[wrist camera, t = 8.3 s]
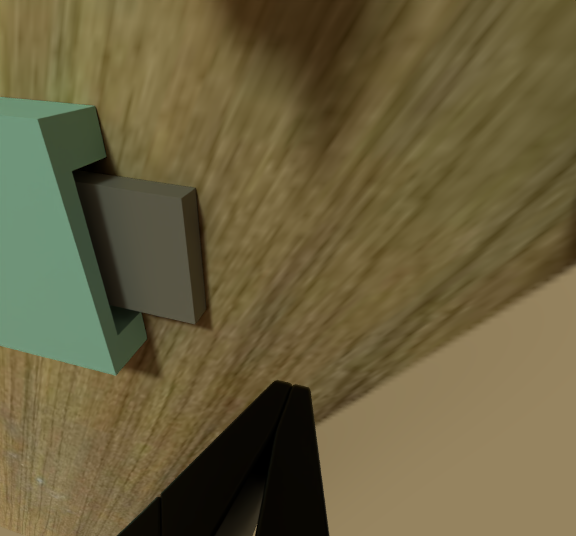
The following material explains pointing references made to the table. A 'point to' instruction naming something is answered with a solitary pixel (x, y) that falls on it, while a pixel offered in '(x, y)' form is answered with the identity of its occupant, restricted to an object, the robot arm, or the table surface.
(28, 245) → the overhang
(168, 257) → the thin grey plate
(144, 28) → the table surface
